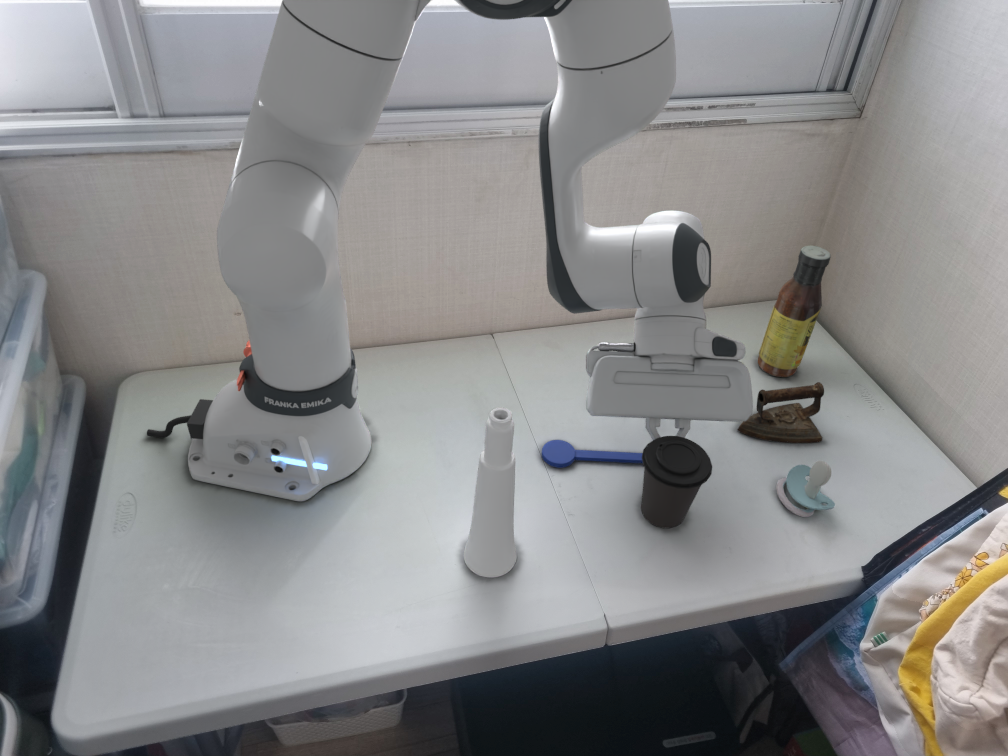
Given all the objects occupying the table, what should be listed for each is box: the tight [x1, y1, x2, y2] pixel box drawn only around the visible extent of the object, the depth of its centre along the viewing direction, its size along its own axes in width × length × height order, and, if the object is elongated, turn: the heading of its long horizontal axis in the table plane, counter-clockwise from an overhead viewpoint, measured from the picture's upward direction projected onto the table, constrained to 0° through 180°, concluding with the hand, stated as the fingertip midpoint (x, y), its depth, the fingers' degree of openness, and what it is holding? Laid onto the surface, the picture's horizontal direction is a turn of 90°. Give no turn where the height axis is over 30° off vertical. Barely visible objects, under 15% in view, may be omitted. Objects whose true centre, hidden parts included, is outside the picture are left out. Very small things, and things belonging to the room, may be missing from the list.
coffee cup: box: [640, 435, 713, 529], centre depth 91 cm, size 8×8×10 cm
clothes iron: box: [736, 381, 825, 444], centre depth 104 cm, size 7×11×10 cm, turn 101°
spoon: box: [541, 439, 643, 469], centre depth 100 cm, size 16×4×1 cm, turn 90°
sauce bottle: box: [757, 245, 832, 378], centre depth 111 cm, size 6×6×20 cm
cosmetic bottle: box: [463, 406, 518, 579], centre depth 80 cm, size 6×6×22 cm
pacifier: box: [775, 460, 836, 518], centre depth 95 cm, size 7×6×6 cm
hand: (667, 456), depth 94 cm, fingers closed, pressing on coffee cup
